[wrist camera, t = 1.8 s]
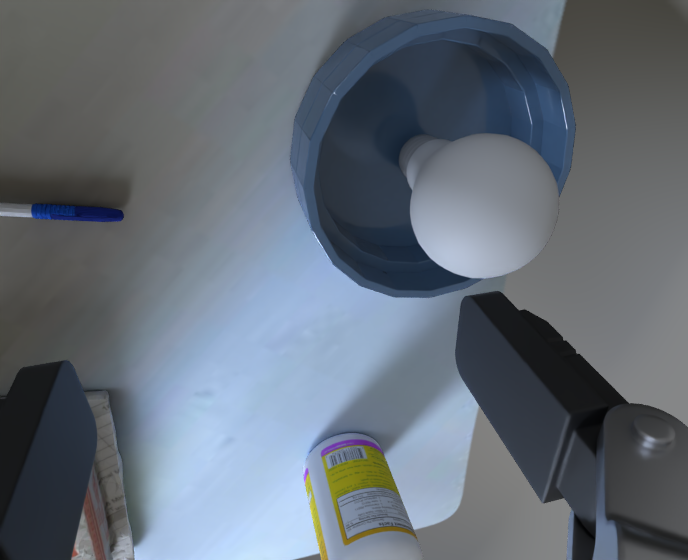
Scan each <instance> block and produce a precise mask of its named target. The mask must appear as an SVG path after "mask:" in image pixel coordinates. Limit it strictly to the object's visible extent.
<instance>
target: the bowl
mask: <svg viewBox="0 0 688 560" xmlns="http://www.w3.org/2000/svg"><path fill="white" fill-rule="evenodd" d="M575 126H576V124H575V119H574V114H573V108H572V102H571V97H570V91H569V86H568V84H567V82H566V80H565V79H564V77H563V75H562V73H561V72H560V70H559V69H558V67H557V65H556V63H555V62H554V60H553V58H552V57H551V55H550V53H549V52H548V50H547V49H546V48H545V47H543V46H542V45H541V44H539V43H538V42H536V41H535V40H534V39H532V38H531V37H529V36H528V35H527V34H525V33H524V32H522V31H521V30H520V29H518V28H517V27H516V26H514V25H513V24H510V23H506V22H501V21H496V20H491V19H486V18H481V17H477V16H472V15H467V14H460V13H453V12H445V11H438V10H428V9H427V10H421V11H416V12H410V13H405V14H399V15H394V16H388V17H386V18H383V19H381V20H380V21H378V22H376V23H374V24H373V25H371V26H369V27H368V28H366V29H364V30H362V31H361V32H359V33H357V34H356V35H354V36H352V37H350V38H349V39H347V40H346V41H345V42H343V44H342V45H341V46H340V47H339V48H338V49H337V50H336V51H335V53H334V54H333V55H332V56H331V57H330V58H329V59H328V61H327V62H326V63H325V64H324V65H323V66H322V67H321V68H320V70H319V71H318V72H317V73H316V74H315V76H314V77H313V79H312V81H311V83H310V85H309V88H308V90H307V92H306V94H305V96H304V99H303V101H302V103H301V105H300V108H299V110H298V112H297V114H296V116H295V121H294V130H293V138H292V147H291V155H290V164H291V169H292V174H293V179H294V184H295V188H296V193H297V198H298V201H299V203H300V205H301V207H302V210H303V212H304V214H305V217H306V219H307V221H308V223H309V226H310V228H311V230H312V232H313V234H314V235H315V237H316V239H317V240H318V242H319V244H320V245H321V247H322V249H323V250H324V252H325V254H326V255H327V257H328V259H329V260H330V262H331V263H332V264H333V265H334V266H335V267H337V268H338V269H339V270H340V271H342V272H343V273H344V274H346V275H347V276H348V277H349V278H351V279H352V280H353V281H354V282H356V283H357V284H358V285H360V286H362V287H365V288H368V289H371V290H374V291H377V292H380V293H383V294H386V295H389V296H392V297H411V298H430V297H435V296H439V295H442V294H446V293H450V292H454V291H458V290H461V289H465V288H468V287H469V286H471V285H473V284H475V283H477V282H478V281H480V280H482V279H484V278H469V277H465V276H461V275H458V274H455V273H453V272H450V271H448V270H446V269H444V268H443V267H441V266H440V265H438V264H437V263H436V262H434V261H433V260H432V259H431V258H430V257H429V256H428V255H427V254H426V252H425V251H424V250H423V248H422V247H421V246H420V244H419V243H418V240H417V238H416V235H415V233H414V230H413V227H412V223H411V217H410V201H411V195H412V189H411V188H410V186H409V184H408V181H407V178H406V176H405V175H404V174H403V172H402V170H401V169H400V166H399V154H400V151H401V149H402V147H403V145H404V144H405V143H406V142H407V141H408V140H409V139H410V138H412V137H414V136H416V135H420V134H427V135H430V136H433V137H435V138H437V139H446V140H449V141H452V142H453V141H455V140H457V139H460V138H463V137H466V136H469V135H472V134H481V133H491V134H501V135H508V136H510V137H513V138H516V139H518V140H520V141H522V142H524V143H526V144H527V145H529V146H530V147H532V148H533V149H534V150H536V151H537V152H538V154H539V155H540V156H541V157H542V158H543V159H544V160H545V162H546V163H547V164H548V165H549V167H550V169H551V171H552V173H553V176H554V178H555V180H556V182H557V187H558V193H559V197H560V194H561V192H562V189H563V187H564V184H565V181H566V179H567V177H568V174H569V172H570V168H571V162H572V155H573V147H574V138H575V130H576V127H575Z"/></svg>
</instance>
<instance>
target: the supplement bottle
mask: <svg viewBox="0 0 688 560" xmlns="http://www.w3.org/2000/svg"><path fill="white" fill-rule="evenodd" d="M303 476H304V481H305V486H306V491H307V495H308V500H309V505H310V509H311V514H312V519H313V523H314V527H315V532H316V537H317V541H318V546H319V550H320V555H321V559H322V560H423V553H422V550H421V547H420V545H419V542H418V540H417V537H416V534H415V532H414V530H413V527H412V525H411V522H410V520H409V517H408V515H407V512H406V509H405V507H404V505H403V502H402V499H401V497H400V494H399V492H398V489H397V487H396V484H395V482H394V479H393V477H392V474H391V472H390V469H389V467H388V464H387V462H386V459H385V457H384V454H383V452H382V449H381V447H380V446H379V444H378V443H377V442H376V441H375V440H374V439H373V438H371V437H369V436H366V435H363V434H358V433H345V434H340V435H336V436H333V437H331V438H328V439H326V440H324V441H323V442H321V443H320V444H319V445H317V446H316V447H315V448H314V449H313V450H312V451H311V452H310V454H309V455H308V456H307V458H306V460H305V463H304V467H303Z"/></svg>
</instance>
